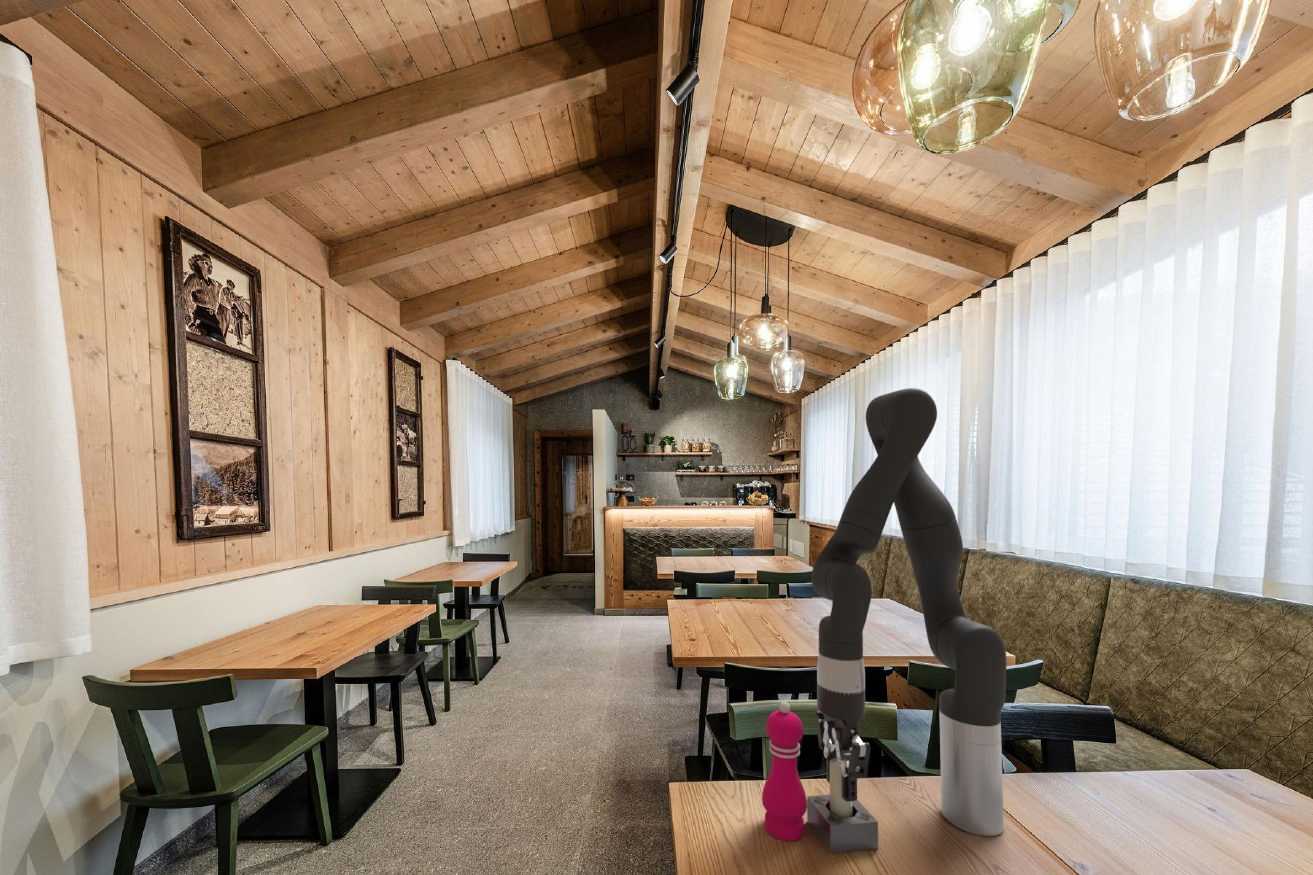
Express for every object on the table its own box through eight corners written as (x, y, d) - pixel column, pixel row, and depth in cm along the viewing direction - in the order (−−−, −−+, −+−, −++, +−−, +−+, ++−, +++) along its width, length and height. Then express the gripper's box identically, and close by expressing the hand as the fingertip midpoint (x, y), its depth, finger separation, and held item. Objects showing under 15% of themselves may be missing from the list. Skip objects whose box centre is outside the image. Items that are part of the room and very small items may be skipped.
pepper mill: (808, 846, 85) (808, 713, 86) (761, 839, 86) (762, 708, 88) (805, 818, 92) (805, 696, 93) (761, 812, 93) (762, 692, 95)
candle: (835, 818, 90) (835, 755, 91) (856, 828, 88) (855, 763, 89) (825, 827, 88) (825, 762, 89) (846, 837, 85) (846, 770, 86)
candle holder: (851, 817, 92) (851, 792, 93) (878, 848, 84) (877, 821, 85) (807, 821, 91) (807, 796, 91) (830, 853, 83) (830, 825, 83)
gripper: (886, 698, 83) (888, 815, 82) (839, 667, 97) (840, 766, 96) (841, 700, 82) (842, 819, 81) (800, 668, 96) (800, 769, 95)
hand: (841, 790), depth 88 cm, fingers open, 4 cm apart
